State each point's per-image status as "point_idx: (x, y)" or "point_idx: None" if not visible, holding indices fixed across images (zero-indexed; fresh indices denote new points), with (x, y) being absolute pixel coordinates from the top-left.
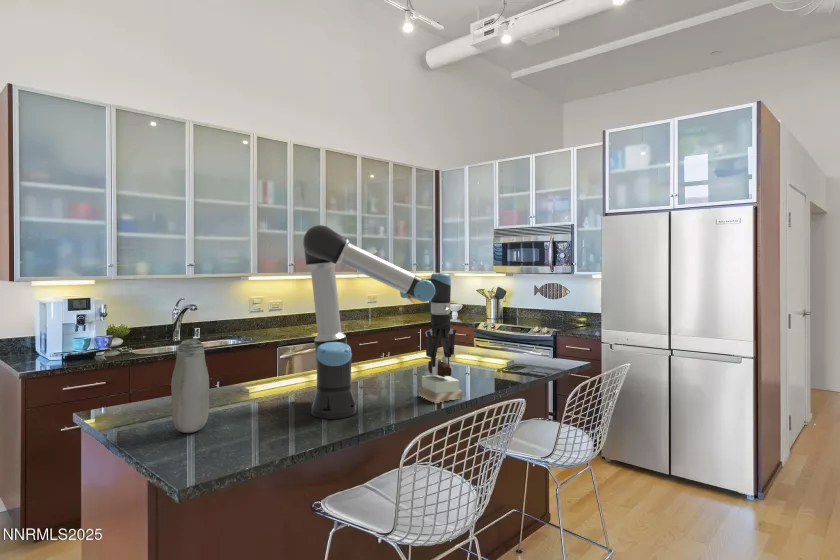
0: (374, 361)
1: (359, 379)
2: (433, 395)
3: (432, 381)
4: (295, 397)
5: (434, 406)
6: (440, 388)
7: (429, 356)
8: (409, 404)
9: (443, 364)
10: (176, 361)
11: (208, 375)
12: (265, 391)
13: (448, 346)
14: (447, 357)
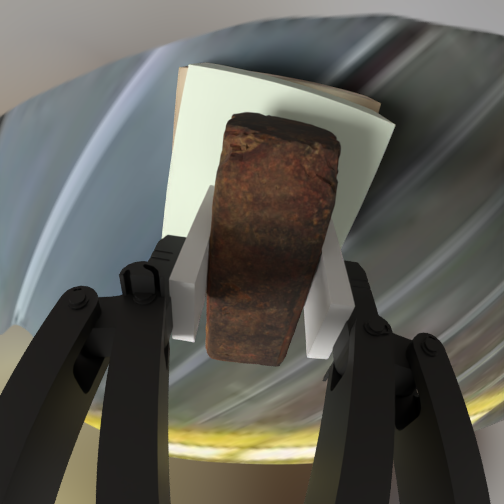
0: (177, 456)
1: (305, 423)
2: None
3: (373, 175)
4: (501, 373)
5: (406, 66)
6: (349, 103)
7: (437, 343)
8: (453, 170)
9: (293, 205)
10: None
11: None
12: (480, 409)
13: (108, 412)
14: (176, 280)
